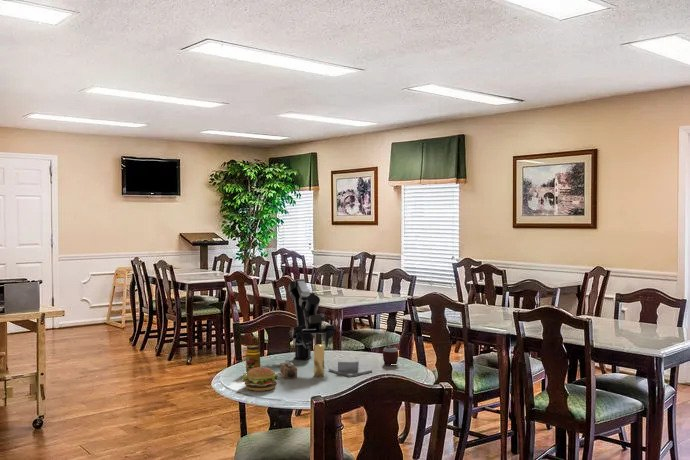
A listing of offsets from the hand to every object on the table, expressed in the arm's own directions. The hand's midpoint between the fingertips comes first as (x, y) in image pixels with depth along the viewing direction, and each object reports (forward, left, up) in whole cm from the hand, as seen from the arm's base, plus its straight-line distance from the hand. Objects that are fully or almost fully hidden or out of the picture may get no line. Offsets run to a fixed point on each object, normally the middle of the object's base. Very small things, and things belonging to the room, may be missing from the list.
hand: (316, 347), depth 280 cm
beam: (-10, -8, -11) cm, 17 cm away
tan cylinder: (+3, -3, -11) cm, 12 cm away
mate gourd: (+23, +29, -11) cm, 39 cm away
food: (-10, -30, -11) cm, 34 cm away
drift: (-10, -8, -7) cm, 14 cm away
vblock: (+11, +9, -11) cm, 18 cm away
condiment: (-25, -11, -11) cm, 30 cm away
